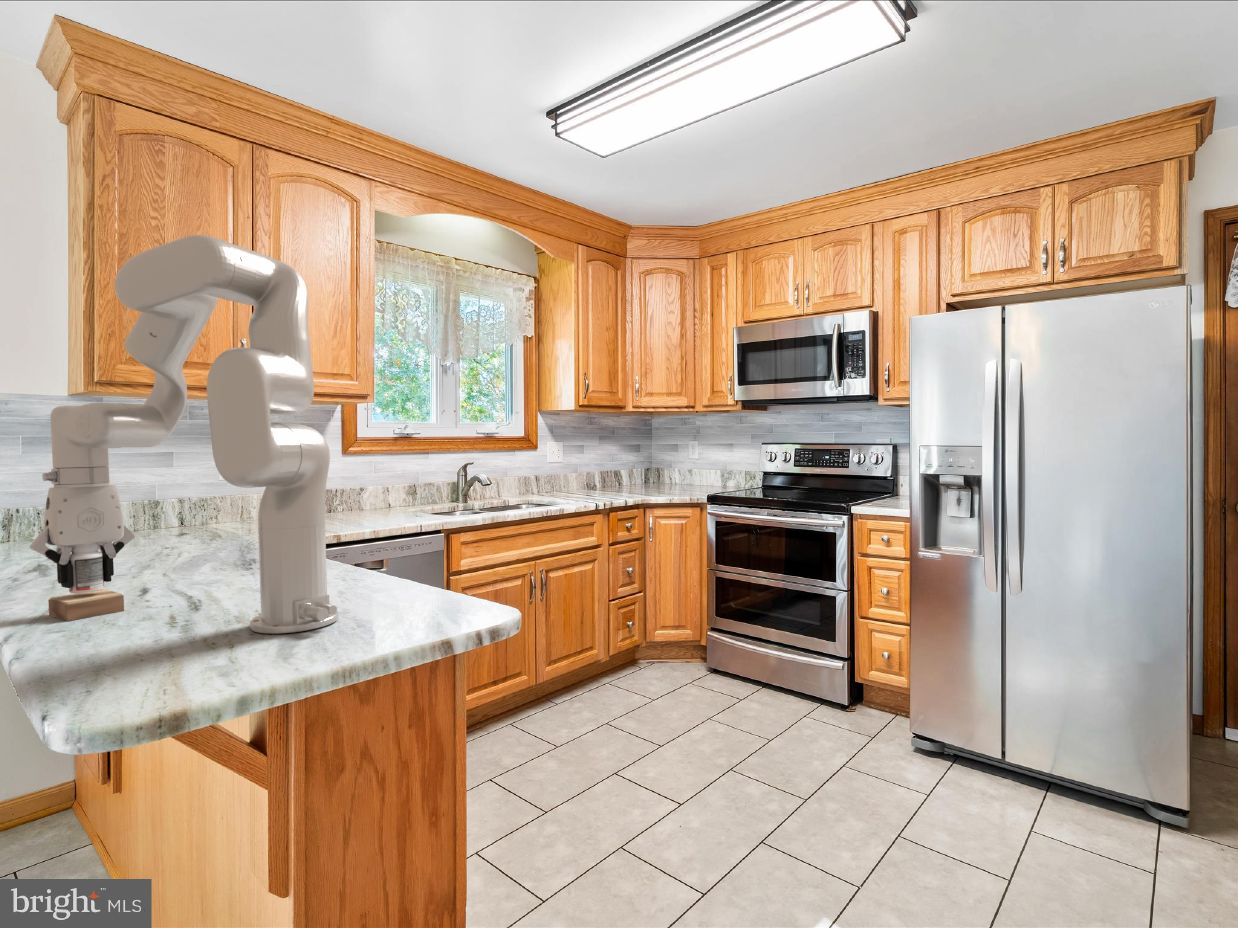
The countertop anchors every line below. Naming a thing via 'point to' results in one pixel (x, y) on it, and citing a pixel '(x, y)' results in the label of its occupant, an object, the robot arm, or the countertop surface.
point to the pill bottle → (86, 569)
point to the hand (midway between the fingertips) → (86, 582)
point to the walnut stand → (85, 604)
